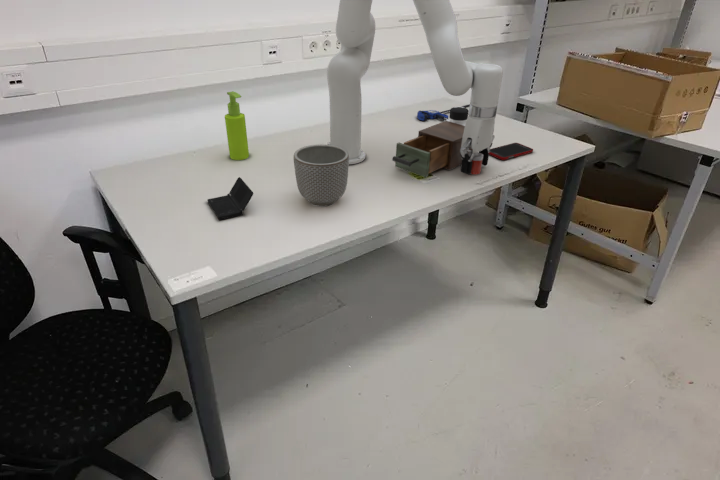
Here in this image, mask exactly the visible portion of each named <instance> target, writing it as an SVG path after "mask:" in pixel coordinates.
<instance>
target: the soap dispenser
mask: <svg viewBox="0 0 720 480" xmlns="http://www.w3.org/2000/svg"><path fill="white" fill-rule="evenodd" d="M226 95H228V96H229V102H228V103H227V104H226V105H227V111H228V113H226V114H225V115H224V122H225V123H224V124H225V130H226V138H227V145H228V154H229V158H230V160H233V161H242V160H243V161H244V160H247V159H248V158H249V157H250V151H249V144H248V143H249V141H248V132H247V123H246V115H245V113H243V112H241V109H240V107H241V106H240V103H239V102H238V101H237V99H240V98H242V95H241V94H240V93H238V92H236V91H227V92H226Z"/></svg>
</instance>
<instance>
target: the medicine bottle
mask: <svg viewBox="0 0 720 480" xmlns="http://www.w3.org/2000/svg"><path fill="white" fill-rule="evenodd" d="M449 110H450V111H449V115H448V119H447V118H445V121H449V122H453V123H456V124H460V125H463V126H465V124H466V121H467V118H468V116H469V115H468V114H469V109H468V107H467V108H466V107H461V106H452V107H451V108H450V109H449Z"/></svg>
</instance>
